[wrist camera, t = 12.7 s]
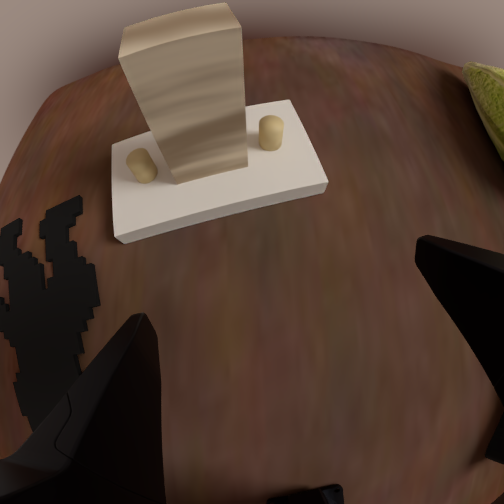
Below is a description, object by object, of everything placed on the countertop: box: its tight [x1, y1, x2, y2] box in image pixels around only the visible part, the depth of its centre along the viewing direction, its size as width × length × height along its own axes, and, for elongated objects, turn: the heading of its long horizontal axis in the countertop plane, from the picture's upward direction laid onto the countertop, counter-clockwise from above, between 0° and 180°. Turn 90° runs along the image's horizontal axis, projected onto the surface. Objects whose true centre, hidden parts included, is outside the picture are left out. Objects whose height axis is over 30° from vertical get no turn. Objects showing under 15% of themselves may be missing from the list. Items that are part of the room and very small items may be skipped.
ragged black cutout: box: [0, 195, 100, 432], centre depth 20 cm, size 16×1×30 cm
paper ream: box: [118, 2, 248, 185], centre depth 17 cm, size 4×6×13 cm
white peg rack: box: [112, 100, 328, 244], centre depth 23 cm, size 10×18×4 cm, turn 105°
